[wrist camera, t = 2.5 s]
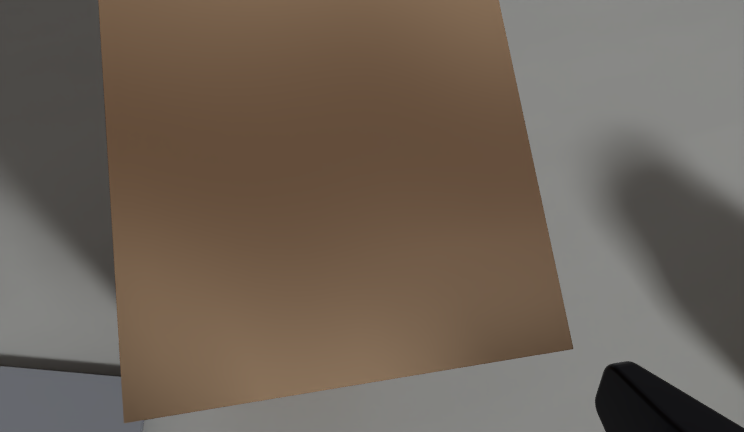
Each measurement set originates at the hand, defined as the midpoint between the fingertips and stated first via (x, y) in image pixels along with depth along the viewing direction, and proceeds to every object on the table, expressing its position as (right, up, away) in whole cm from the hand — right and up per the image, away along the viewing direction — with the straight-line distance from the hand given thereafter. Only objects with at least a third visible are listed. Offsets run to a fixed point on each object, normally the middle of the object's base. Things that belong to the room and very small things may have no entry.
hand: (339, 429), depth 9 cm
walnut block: (-2, +1, +10) cm, 11 cm away
